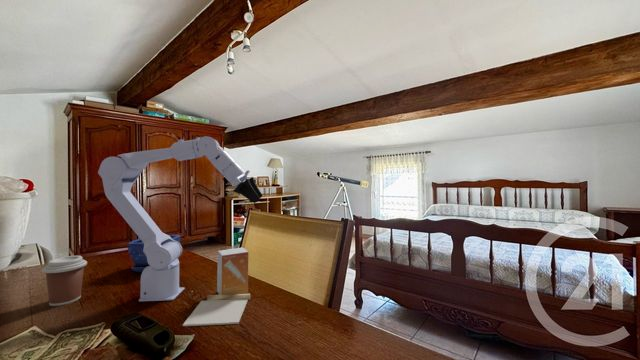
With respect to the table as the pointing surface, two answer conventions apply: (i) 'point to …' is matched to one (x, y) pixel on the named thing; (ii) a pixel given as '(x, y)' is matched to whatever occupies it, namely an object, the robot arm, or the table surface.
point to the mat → (217, 312)
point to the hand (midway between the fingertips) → (259, 199)
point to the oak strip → (228, 297)
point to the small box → (232, 271)
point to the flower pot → (142, 253)
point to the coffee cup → (64, 279)
